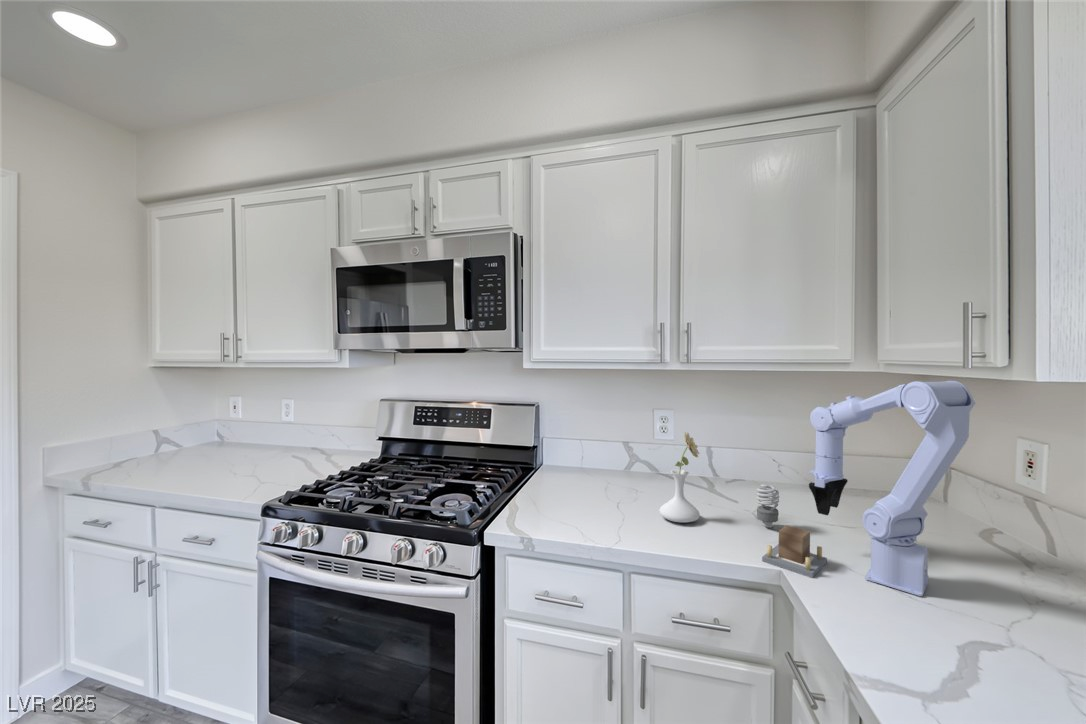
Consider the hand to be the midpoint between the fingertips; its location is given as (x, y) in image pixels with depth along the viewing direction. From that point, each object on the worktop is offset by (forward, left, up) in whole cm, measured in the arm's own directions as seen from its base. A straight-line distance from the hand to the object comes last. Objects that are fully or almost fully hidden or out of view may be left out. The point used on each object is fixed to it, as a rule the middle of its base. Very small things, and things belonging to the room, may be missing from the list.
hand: (828, 510), depth 110 cm
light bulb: (+15, -2, -10) cm, 18 cm away
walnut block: (+3, +14, -8) cm, 17 cm away
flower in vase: (+35, +9, -10) cm, 37 cm away
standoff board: (+3, +14, -9) cm, 17 cm away
